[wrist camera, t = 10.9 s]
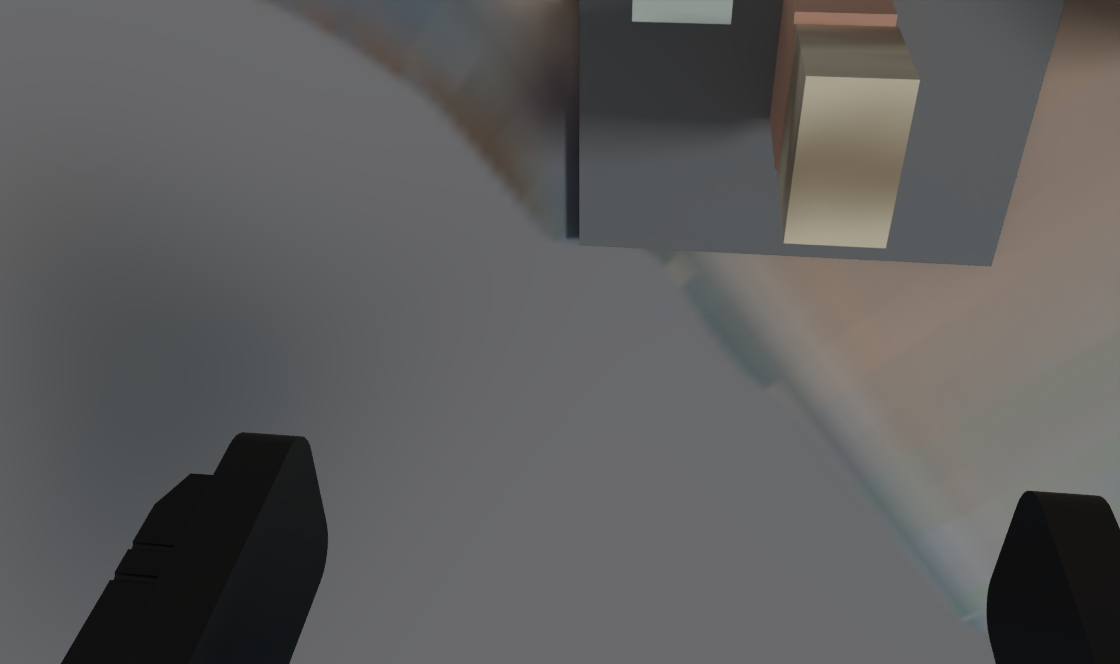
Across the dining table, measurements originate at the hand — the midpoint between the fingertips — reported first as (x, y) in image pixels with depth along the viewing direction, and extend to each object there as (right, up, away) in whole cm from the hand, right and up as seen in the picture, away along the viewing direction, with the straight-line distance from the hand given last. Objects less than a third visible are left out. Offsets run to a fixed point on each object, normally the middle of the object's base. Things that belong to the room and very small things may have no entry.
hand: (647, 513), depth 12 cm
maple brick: (+9, +10, +25) cm, 28 cm away
